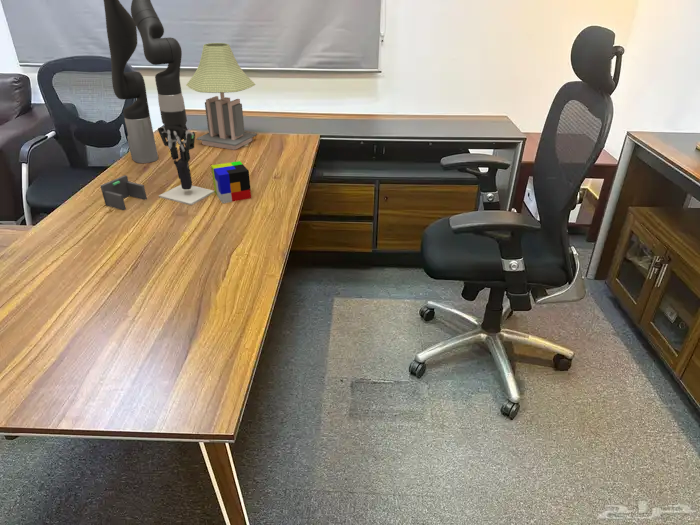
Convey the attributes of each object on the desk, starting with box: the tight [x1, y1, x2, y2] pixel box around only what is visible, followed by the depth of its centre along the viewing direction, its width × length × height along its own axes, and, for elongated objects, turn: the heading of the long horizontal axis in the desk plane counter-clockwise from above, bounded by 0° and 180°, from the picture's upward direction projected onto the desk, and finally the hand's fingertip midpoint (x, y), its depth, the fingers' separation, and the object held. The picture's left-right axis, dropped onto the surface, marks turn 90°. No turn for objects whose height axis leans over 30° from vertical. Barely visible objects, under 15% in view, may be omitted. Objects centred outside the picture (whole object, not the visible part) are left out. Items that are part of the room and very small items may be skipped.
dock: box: [99, 175, 148, 211], centre depth 161 cm, size 8×10×7 cm
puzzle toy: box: [210, 160, 252, 204], centre depth 166 cm, size 10×10×10 cm
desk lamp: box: [185, 42, 258, 151], centre depth 206 cm, size 26×28×40 cm
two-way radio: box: [173, 145, 193, 189], centre depth 163 cm, size 6×4×15 cm
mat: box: [158, 184, 215, 206], centre depth 168 cm, size 14×12×1 cm
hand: (181, 159), depth 162 cm, fingers closed on two-way radio, 4 cm apart
